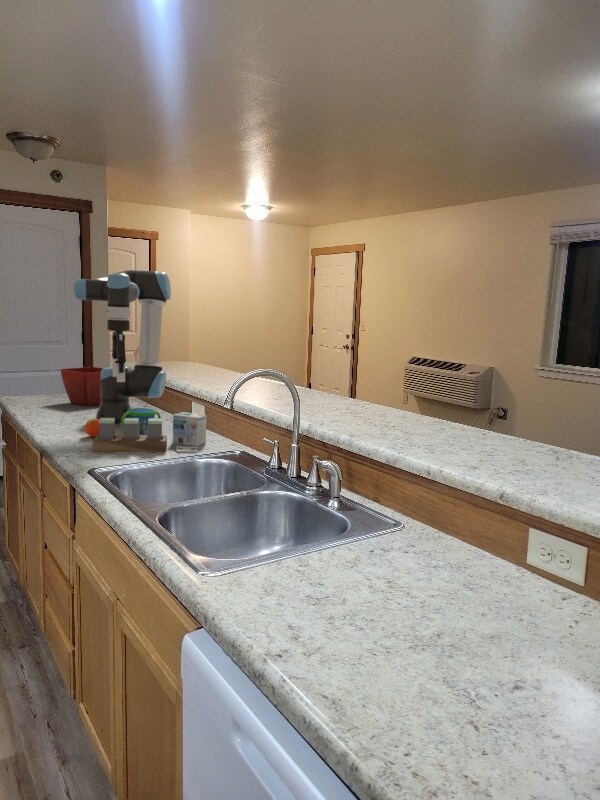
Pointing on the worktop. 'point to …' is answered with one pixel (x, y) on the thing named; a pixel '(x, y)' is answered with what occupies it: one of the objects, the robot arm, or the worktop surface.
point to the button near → (107, 428)
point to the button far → (154, 429)
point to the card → (187, 449)
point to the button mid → (131, 428)
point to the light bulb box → (189, 428)
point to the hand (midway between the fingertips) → (118, 379)
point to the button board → (129, 444)
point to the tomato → (92, 427)
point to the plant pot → (82, 384)
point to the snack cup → (140, 418)
